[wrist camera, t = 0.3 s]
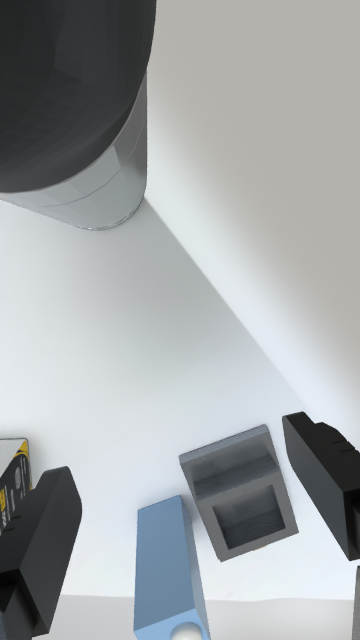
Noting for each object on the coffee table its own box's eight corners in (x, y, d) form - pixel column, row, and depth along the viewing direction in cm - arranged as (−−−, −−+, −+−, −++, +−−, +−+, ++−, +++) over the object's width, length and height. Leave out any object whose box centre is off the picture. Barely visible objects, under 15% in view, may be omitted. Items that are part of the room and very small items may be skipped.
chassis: (178, 456, 32) (182, 481, 29) (264, 424, 33) (279, 445, 29) (215, 549, 36) (223, 582, 32) (293, 520, 36) (309, 549, 32)
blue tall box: (137, 510, 33) (133, 644, 22) (179, 494, 34) (196, 620, 22) (151, 538, 34) (153, 681, 23) (191, 523, 35) (213, 658, 23)
